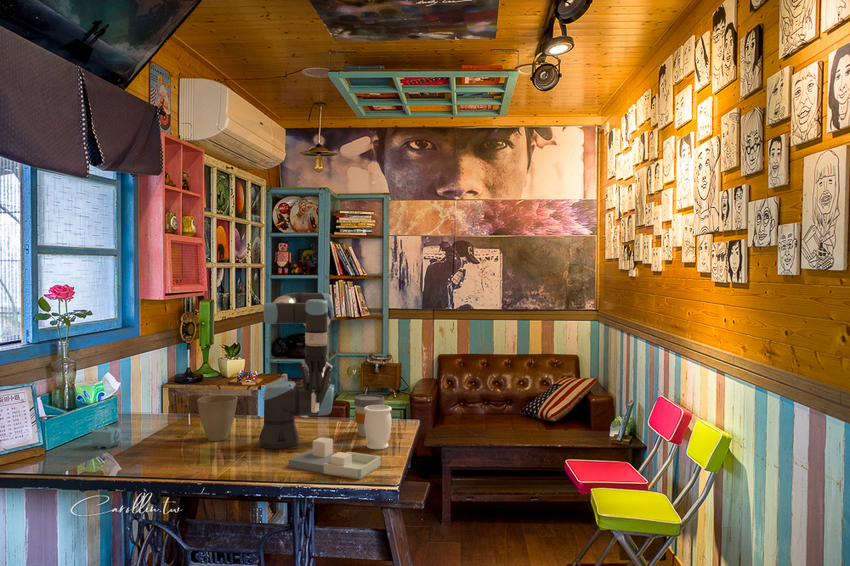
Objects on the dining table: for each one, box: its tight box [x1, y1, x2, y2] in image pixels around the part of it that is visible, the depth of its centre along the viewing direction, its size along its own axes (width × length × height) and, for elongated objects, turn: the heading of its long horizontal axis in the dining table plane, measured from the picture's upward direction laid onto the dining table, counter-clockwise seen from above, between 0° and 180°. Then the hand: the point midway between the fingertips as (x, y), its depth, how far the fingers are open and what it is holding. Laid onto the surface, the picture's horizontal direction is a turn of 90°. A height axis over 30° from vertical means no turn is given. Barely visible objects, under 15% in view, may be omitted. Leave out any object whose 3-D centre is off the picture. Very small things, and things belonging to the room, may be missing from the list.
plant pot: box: [196, 394, 238, 442], centre depth 224 cm, size 15×15×16 cm
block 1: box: [312, 437, 334, 457], centre depth 198 cm, size 5×5×5 cm
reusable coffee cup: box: [353, 393, 385, 437], centre depth 235 cm, size 13×13×15 cm
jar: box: [364, 404, 393, 450], centre depth 216 cm, size 11×10×15 cm
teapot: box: [89, 425, 122, 450], centre depth 212 cm, size 12×6×8 cm, turn 87°
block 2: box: [331, 451, 352, 467], centre depth 187 cm, size 5×5×5 cm
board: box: [288, 448, 339, 474], centre depth 195 cm, size 14×14×2 cm
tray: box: [323, 451, 383, 481], centre depth 189 cm, size 14×15×3 cm
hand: (315, 411), depth 197 cm, fingers closed
